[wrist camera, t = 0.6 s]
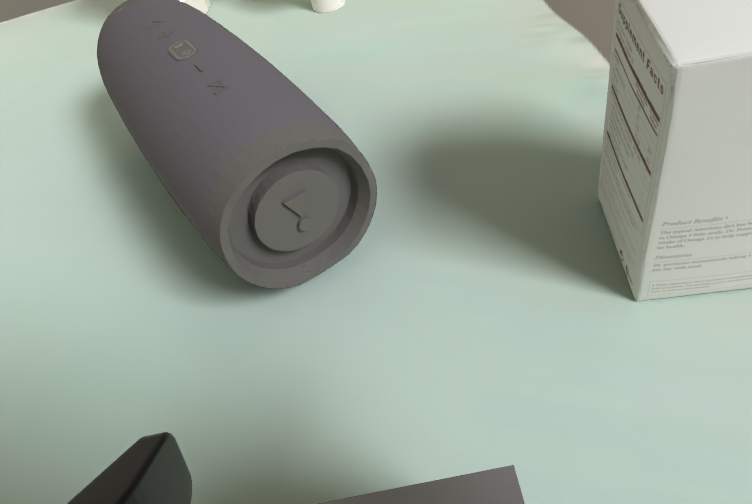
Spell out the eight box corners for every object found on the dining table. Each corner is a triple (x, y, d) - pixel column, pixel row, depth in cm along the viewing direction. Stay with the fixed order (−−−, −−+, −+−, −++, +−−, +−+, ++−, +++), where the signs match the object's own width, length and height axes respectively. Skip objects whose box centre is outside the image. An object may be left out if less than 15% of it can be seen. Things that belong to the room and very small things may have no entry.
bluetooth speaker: (404, 243, 33) (367, 89, 26) (257, 335, 31) (172, 195, 24) (242, 88, 48) (189, -38, 41) (134, 143, 46) (58, 20, 38)
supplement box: (738, 177, 32) (821, -76, 22) (802, 287, 27) (943, 21, 17) (593, 196, 33) (615, -38, 24) (628, 305, 28) (674, 64, 19)
